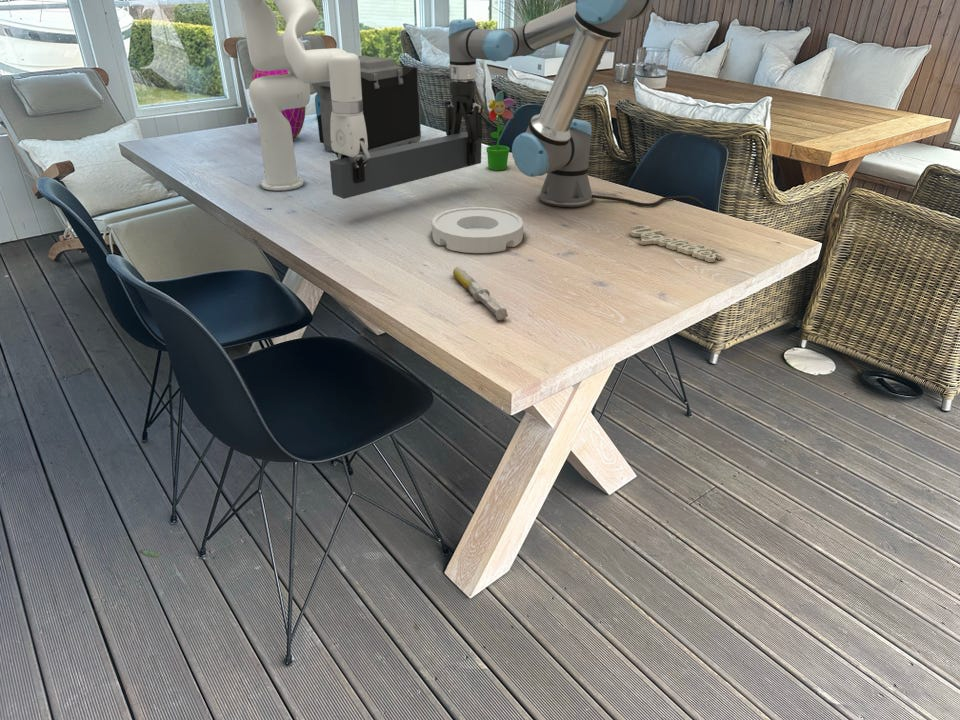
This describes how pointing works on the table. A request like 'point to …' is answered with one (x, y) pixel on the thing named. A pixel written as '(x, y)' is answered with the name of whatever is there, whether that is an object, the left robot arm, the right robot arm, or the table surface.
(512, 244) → the ashtray
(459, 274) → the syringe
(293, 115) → the magenta tall rounded piece
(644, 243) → the decorative sign
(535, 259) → the table surface
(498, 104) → the potted flower
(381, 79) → the black cooler box
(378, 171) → the beam
